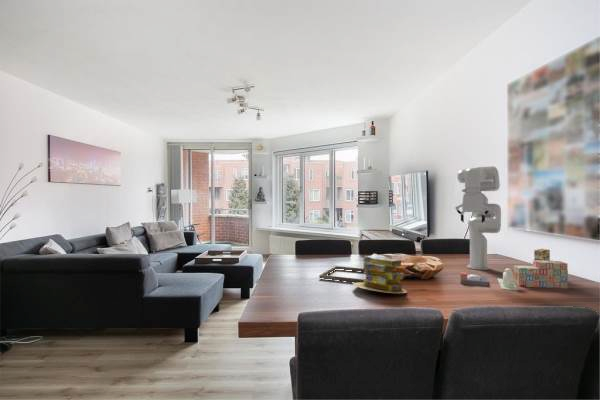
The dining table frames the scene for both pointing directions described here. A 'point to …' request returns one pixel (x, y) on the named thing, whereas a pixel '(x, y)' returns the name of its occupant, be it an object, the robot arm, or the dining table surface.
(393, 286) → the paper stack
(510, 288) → the track
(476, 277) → the dome
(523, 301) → the dining table surface
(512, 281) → the pawn
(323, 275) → the frame
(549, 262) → the stack of blocks
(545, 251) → the candy box
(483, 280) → the grey stepped block
